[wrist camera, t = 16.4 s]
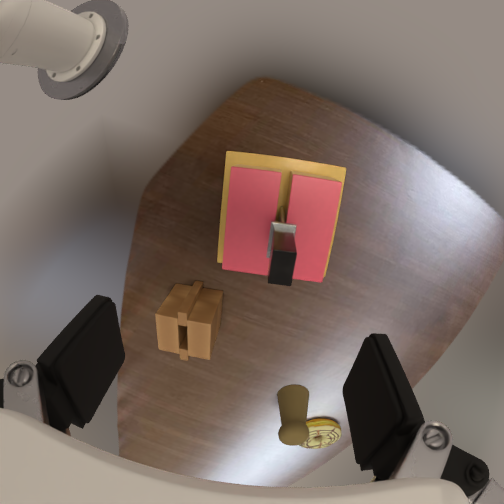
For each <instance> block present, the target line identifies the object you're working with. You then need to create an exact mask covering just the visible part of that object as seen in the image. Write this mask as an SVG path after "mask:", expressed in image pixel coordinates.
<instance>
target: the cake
mask: <svg viewBox="0 0 504 504" xmlns="http://www.w3.org/2000/svg"><path fill="white" fill-rule="evenodd" d="M345 174H346V168H344V167H339V166H334V165H328V164H323V163H317V162H311V161H305V160H298V159H292V158H285V157H277V156H270V155H262V154H253V153H244V152H234V151H227V152H226V162H225V172H224V183H223V194H222V205H221V217H220V229H219V242H218V256H217V262H218V263H222V269H224V270H231V271H239V272H246V273H253V274H260V275H267V274H268V269H269V260H270V258H267V257H266V255H267V248H268V241H269V234H270V226H271V221H277V222H278V220H279V213H280V206H283V212H284V222H285V223H291V224H296V226H297V227H296V233H295V244H296V250H297V257H296V262H295V267H294V273H293V278H292V279H299V280H306V281H314V282H322V280H323V277H325V274H326V270H327V266H328V261H329V257H330V253H331V248H332V243H333V239H334V234H335V229H336V224H337V219H338V214H339V209H340V203H341V198H342V192H343V186H344V180H345Z"/></svg>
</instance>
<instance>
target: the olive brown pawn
mask: <svg viewBox="0 0 504 504" xmlns="http://www.w3.org/2000/svg"><path fill="white" fill-rule="evenodd" d="M277 396H278V403H279V410H280V416H281V423H282V426H281V427H280V429H279V432H278V435H279V439H280V441H281V442H282V443H284V444H286V445H299V444H302V443H304V442H306V440H307V439H308V437H309V428H308V426H307V425H306V418H307V409H308V399H309V391H308V390H307V388H305V387H303V386H301V385H288V386H285V387H283V388H281V389H280V390H279V391H278V394H277Z"/></svg>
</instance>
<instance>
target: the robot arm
mask: <svg viewBox="0 0 504 504" xmlns="http://www.w3.org/2000/svg"><path fill="white" fill-rule="evenodd" d="M105 37H106V23H105V20H104V19H103V18H102V16H100V15H99V14H97V13H95V12H89V11H88V12H83V13H80V14H75V13H73V12H71V11H68V10H66V9H64V8H62V7H59V6H57V5H55V4H52V3H50V2H47V1H45V0H0V63H5V64H13V65H22V66H28V67H35V68H41V69H46V72H47V74H48V76H49V77H50V78H51V79H52V80H54V81H58V82H67V81H70V80H73V79H75V78H76V77H78V76H79V75H81V74H82V73H83V72H84V71H85V70H87V69H88V67H89V66H90V65H91V64H92V63H93V61H94V60H95V59H96V57H97V56H98V54H99V52H100V50H101V48H102V46H103V43H104V40H105ZM124 360H125V352H124V347H123V343H122V338H121V333H120V328H119V323H118V317H117V311H116V306H115V303H114V302H112V300H111V298H109V297H105V296H100V295H96V296H94V298H93V299H92V300H91V301H90V302H89V303H88V304H87V305H86V306H85V307H84V308H83V309H82V310H81V311H80V312H79V313H78V314H77V315H76V316H75V318H74V319H73V320H72V321H71V322H70V323H69V324H68V325H67V326H66V327H65V328H64V329H63V330H62V332H61V333H60V334H59V335H58V336H57V337H56V338H55V339H54V341H53V342H52V343H51V344H50V345H49V346H48V347H47V349H46V350H45V351H44V352H43V353H42V354H41V356H40V357H39V358H38V359H37V362H38V363H37V364H36V366H35V365H34V364H33V363H31V362H30V361H26V360H20V361H16V362H14V363H12V364H11V365H10V366H9V367H8V368H7V369H6V371H5V374H4V379H0V504H504V489H503V488H502V487H501V486H500V485H499V484H498V483H497V482H496V481H495V480H494V479H493V478H492V479H491V480H489V469H488V467H487V465H486V464H485V462H483V461H482V460H481V459H478V458H477V457H475V456H473V455H471V454H469V453H467V452H465V451H463V450H461V449H459V448H458V447H456V446H454V445H452V443H453V436H452V433H451V431H450V429H449V428H448V427H447V426H446V425H445V424H443V423H442V422H439V421H428V422H425V421H424V418H423V415H422V412H421V410H420V407H419V405H418V402H417V400H416V398H415V395H414V393H413V391H412V388H411V386H410V384H409V381H408V379H407V377H406V375H405V372H404V370H403V368H402V366H401V364H400V361H399V359H398V357H397V355H396V353H395V351H394V349H393V347H392V345H391V343H390V340H389V338H388V336H387V335H386V334H371V335H370V336H369V337H366V338H365V339H364V342H363V344H362V346H361V349H360V351H359V353H358V355H357V358H356V360H355V362H354V364H353V367H352V369H351V371H350V373H349V375H348V377H347V379H346V381H345V383H344V386H343V397H344V401H345V406H346V411H347V416H348V421H349V427H350V432H351V437H352V443H353V448H354V454H355V460H356V463H357V464H360V467H361V471H363V470H371V469H373V473H374V477H373V478H372V480H371V482H369V483H363V484H353V485H343V486H328V487H307V488H306V487H303V488H302V487H300V488H299V487H298V488H297V487H294V488H293V487H292V488H291V487H265V486H251V485H241V484H232V483H225V482H218V481H211V480H206V479H200V478H195V477H190V476H185V475H181V474H176V473H172V472H168V471H164V470H160V469H157V468H153V467H150V466H146V465H143V464H140V463H137V462H134V461H131V460H128V459H125V458H122V457H119V456H116V455H113V454H111V453H108V452H106V451H103V450H101V449H98V448H96V447H93V446H91V445H89V444H87V443H84V442H82V441H79V440H77V439H75V438H73V437H71V435H70V431H69V426H70V424H71V423H72V424H74V425H76V426H78V427H80V428H83V427H84V425H85V423H89V422H90V421H91V419H92V417H93V416H94V414H95V412H96V410H97V408H98V406H99V405H100V403H101V401H102V399H103V397H104V396H105V394H106V392H107V390H108V388H109V386H110V385H111V383H112V381H113V380H114V378H115V376H116V374H117V373H118V371H119V369H120V368H121V366H122V364H123V362H124Z"/></svg>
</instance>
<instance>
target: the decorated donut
mask: <svg viewBox="0 0 504 504" xmlns="http://www.w3.org/2000/svg"><path fill="white" fill-rule="evenodd" d="M306 425H307V426H308V428H309V437H308V439H307V440H306V442H304V443H302V444H299V446H301V447H304V448H311V449H318V448H325V447H328V446H329V445H331V444H333V443H334V442H336V441H337V440H338V439H339V438H340V436H341V428H340V426H339V425H338V424H337V423H336V422H335V421H332V420H329V419H325V418H324V419H312V420H309V421H307V422H306Z"/></svg>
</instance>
